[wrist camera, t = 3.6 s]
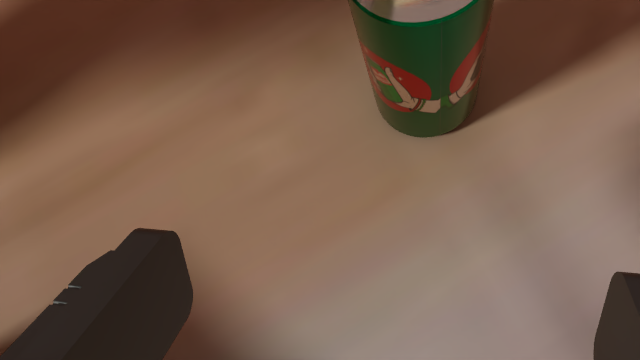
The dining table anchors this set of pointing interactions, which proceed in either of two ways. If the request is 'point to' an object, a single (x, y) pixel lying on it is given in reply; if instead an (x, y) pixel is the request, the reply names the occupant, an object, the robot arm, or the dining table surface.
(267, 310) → the dining table surface
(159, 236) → the robot arm
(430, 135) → the soda can
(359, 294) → the dining table surface
